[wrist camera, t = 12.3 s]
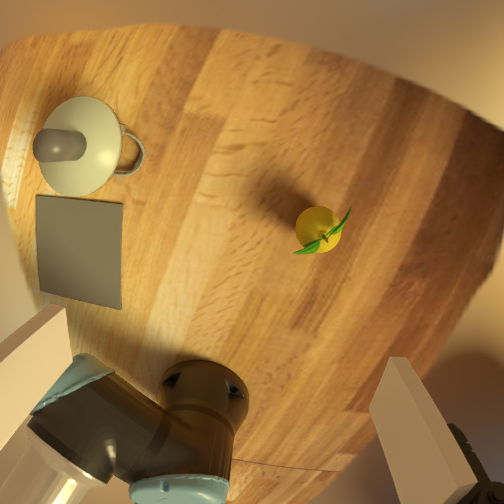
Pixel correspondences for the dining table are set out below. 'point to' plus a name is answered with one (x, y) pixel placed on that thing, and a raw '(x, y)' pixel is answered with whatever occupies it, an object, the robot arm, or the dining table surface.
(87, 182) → the lid
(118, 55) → the dining table surface
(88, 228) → the mat
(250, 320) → the dining table surface
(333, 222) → the lemon
